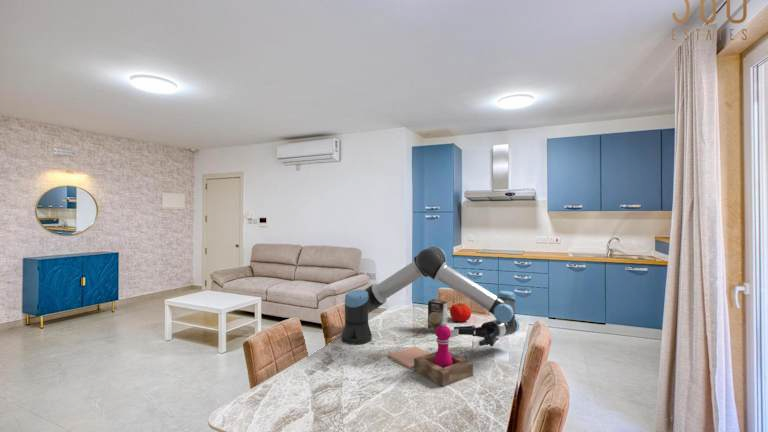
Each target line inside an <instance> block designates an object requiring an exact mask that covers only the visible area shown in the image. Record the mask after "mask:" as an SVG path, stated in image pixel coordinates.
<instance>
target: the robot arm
mask: <svg viewBox="0 0 768 432" xmlns="http://www.w3.org/2000/svg"><path fill="white" fill-rule="evenodd" d="M423 277H424V278H428V277H429V278H431V279H432V280H433V281H439V282H441V283H442V284H444V285H445V286H447V287H448V288H451V289H452V290H453V291H455V292H457V293H459V294H460V295H462V296H463V297H464V298H467V299H468V300H470V301H471V302H473V303H474V304H476V305H478V306H479V307H480V308H482V309H484V310H485V311H486V312H489V313H490V314H492V315H493V316H494V318H495V319H494V320H491V321H486V322H483V323H482V324H481V325H480V326H478V327H476V325H461V326H454V327H453V329H450V330H451V336H450V337H449V339H452V338H455V337H458V336H459V335H461V336H463V335H465V336H472V337H478V339H475V340H471V348H472V349H478V348H479V347H480V348H481V347H482V346H490V347H493V346H494V345H495V344H496V342H497V341H498V340H499V339H500V338H502V337H505V336H509V335H513V334H515V333H517V332H518V331H519V330H520V322H519V319H518V318H516V314H515V313H516V312H515V310H516V296H515V293H514V292H512V291H511V290H510V291H509V290H500V291H498V292H497V295H496V294H494V293H492V292H491V291H489V290H487V289H486V288H484V287H483V286H481V285H480V284H478V283H477V282H475V281H473V280H471V279H470V278H468V277H466V276H465V275H463V274H462V273H460V272H458V271H457V270H456V269H453V268H452V267H450V266H449V265H447V255H446V252H445V251H444V250H443V249H442V248H441V247H437V246H430V247H427V248H424V249H422V250H420V251H419V252H418V254H417V255H415V256H414V257H413V260H412V261H411V262H410V263H409V264H407V265H406V266H404V267H402V268H401V269H399V270H397V272H395V273H393V274H392V275H390V276H388V277H387V278H386V279H384V280H382V281H381V282H379V283H372V284H371V285H369V286H368V287H367V288H365V289H354V290H351V291H348V292H346V293H345V296H344V326H343V327H342V328H343V329H342V331H341V335H340V336H341V337H340V338H341V340H340V341H341V342H343V343H345V344H348V345H363V344H366V343H367V344H368V343H369V342H371V341H372V339H373V338H372V337H373V334H372V330H371V328H370V325H369V313H371V312H373V311H375V310H377V309H379V307H382V306H383V305H384V304H385V303H387V299H388V298H390V297H391V296H393V295H394V294H396V293H398V292H400V291H401V290H403V289H404V288H406V287H407V286H409V285H411V284H413V282H415V281H417V280H418V279H420V278H423Z"/></svg>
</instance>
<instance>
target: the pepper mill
mask: <svg viewBox="0 0 768 432" xmlns="http://www.w3.org/2000/svg"><path fill="white" fill-rule="evenodd" d="M445 325H446V324H445V322H442V323H441V326H438V327H437V328H436V332H434V334H435V336H436V343H437V351H436V352H437V353H436V355H435V357H434V364H436V365H438V366H440V367H442V368H445V367H448V366H451V365H452V358H451V355H450V353H451V352H450V350H449V344H450V340H451V338H449V337H450V336H451V330H452V329H451V328H450V327H449V326H448V325H447V326H445ZM449 352H450V353H449Z"/></svg>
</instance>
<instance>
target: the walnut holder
mask: <svg viewBox="0 0 768 432" xmlns="http://www.w3.org/2000/svg"><path fill="white" fill-rule="evenodd" d="M429 353H430V354H427V355H424V356H420V357H417V358H414V368H413V371H414V372H415V373H417V374H419V375H420V376H422V377H424V378H426V379H428V380H430V381H432V382H433V383H435V384H436V385H439V386H441V387H442V388H445V387H447V386H449V385H452V384H454V383H457V382H460V381H462V380H465V379H468V378H470V377H472V376H474V374H473V373H474V362H473V361H470V360H468V359H466V358H464V357H461V356H459V355H456V354H455V353H452V352H450V351H449V353H450V355H451V358H452V365H451V366H448V367H445V368H442V367H440V366H438V365H436V364H434V357H435V355H436V353H437V351H434V352H429Z"/></svg>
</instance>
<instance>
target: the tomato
mask: <svg viewBox="0 0 768 432" xmlns="http://www.w3.org/2000/svg"><path fill="white" fill-rule="evenodd" d="M449 315H450V317H451V319H452V320H453V321H455V322H458V323H459V322H460V323H462V322H467V321H468V320H470V318H471V316H472V311H471V308H470V307H469V306H468V305H466V304H465V303H461V302H460V303H459V302H456V304H452V305H451V307H450V309H449Z"/></svg>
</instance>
